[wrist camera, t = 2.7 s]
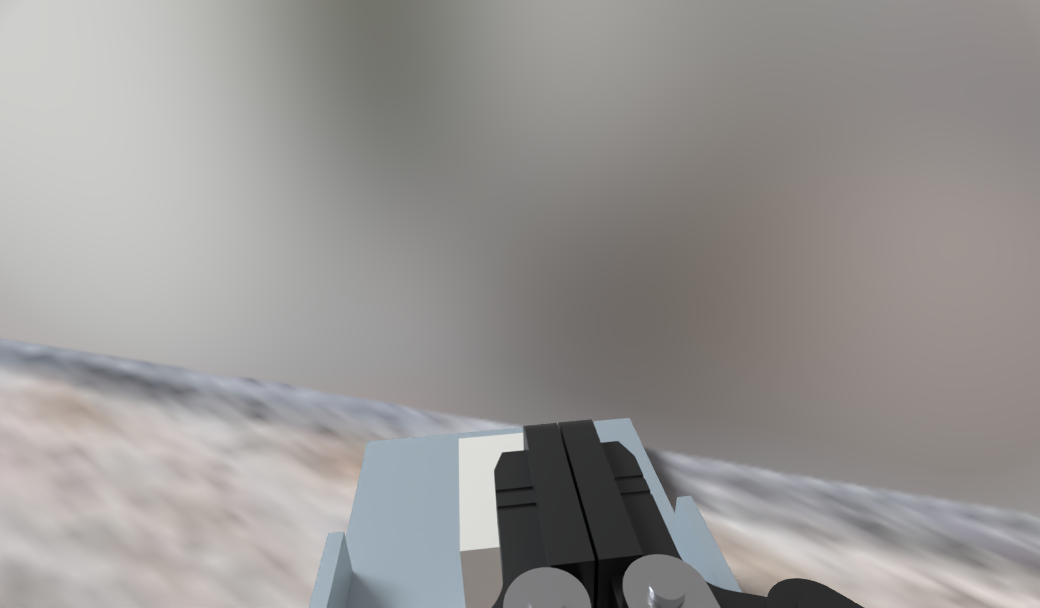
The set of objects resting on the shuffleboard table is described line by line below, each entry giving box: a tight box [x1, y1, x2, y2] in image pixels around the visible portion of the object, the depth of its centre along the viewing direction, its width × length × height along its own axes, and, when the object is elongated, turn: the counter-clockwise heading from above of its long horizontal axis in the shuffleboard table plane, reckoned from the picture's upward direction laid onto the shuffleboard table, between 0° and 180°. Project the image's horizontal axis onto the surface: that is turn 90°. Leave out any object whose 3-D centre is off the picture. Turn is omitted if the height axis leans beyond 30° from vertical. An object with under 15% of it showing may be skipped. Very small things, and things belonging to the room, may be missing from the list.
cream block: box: [459, 433, 524, 608], centre depth 24 cm, size 6×5×10 cm
